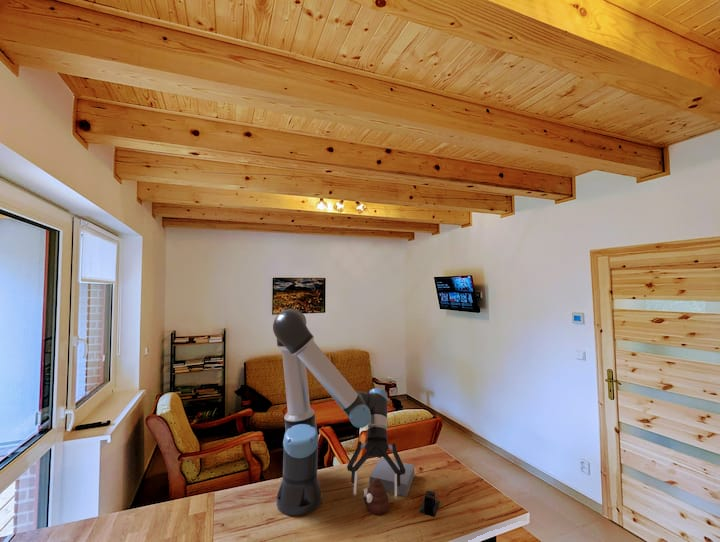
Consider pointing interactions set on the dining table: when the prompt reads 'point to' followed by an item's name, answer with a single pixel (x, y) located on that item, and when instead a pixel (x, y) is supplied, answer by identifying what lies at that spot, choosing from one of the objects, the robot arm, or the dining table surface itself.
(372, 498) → the poop emoji
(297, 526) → the dining table surface
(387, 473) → the grey block
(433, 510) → the black mounting bracket
